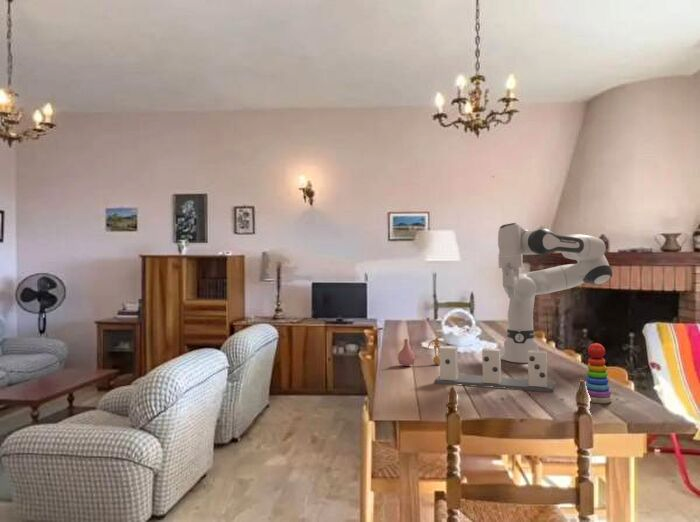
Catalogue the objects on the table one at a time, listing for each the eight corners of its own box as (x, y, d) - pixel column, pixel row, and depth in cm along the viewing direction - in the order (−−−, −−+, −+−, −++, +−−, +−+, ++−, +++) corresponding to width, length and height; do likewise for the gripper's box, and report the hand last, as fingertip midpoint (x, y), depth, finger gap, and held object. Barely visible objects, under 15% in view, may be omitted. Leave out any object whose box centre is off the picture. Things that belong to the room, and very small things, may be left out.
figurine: (428, 365, 228) (428, 338, 228) (427, 363, 234) (427, 336, 234) (447, 365, 227) (447, 338, 227) (446, 362, 233) (445, 336, 233)
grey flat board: (442, 376, 206) (442, 373, 206) (554, 384, 189) (554, 381, 189) (434, 383, 196) (434, 380, 196) (552, 392, 178) (552, 388, 178)
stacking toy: (581, 397, 170) (579, 341, 171) (606, 397, 170) (604, 341, 170) (589, 404, 163) (588, 345, 163) (616, 404, 162) (614, 345, 162)
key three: (529, 383, 186) (528, 350, 186) (547, 384, 183) (546, 351, 183) (528, 386, 182) (527, 352, 182) (546, 387, 180) (545, 353, 180)
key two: (484, 380, 192) (483, 348, 192) (501, 381, 190) (500, 348, 190) (482, 382, 189) (481, 350, 189) (499, 383, 186) (498, 350, 186)
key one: (442, 377, 199) (442, 346, 199) (458, 378, 197) (457, 347, 197) (440, 379, 195) (439, 348, 195) (455, 380, 193) (454, 348, 193)
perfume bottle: (394, 365, 230) (394, 339, 230) (408, 363, 234) (408, 337, 234) (404, 368, 223) (403, 341, 223) (418, 366, 227) (418, 339, 227)
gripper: (515, 263, 195) (516, 299, 195) (520, 262, 214) (521, 296, 214) (498, 263, 198) (499, 299, 198) (505, 263, 216) (506, 296, 216)
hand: (511, 297), depth 206 cm, fingers closed
